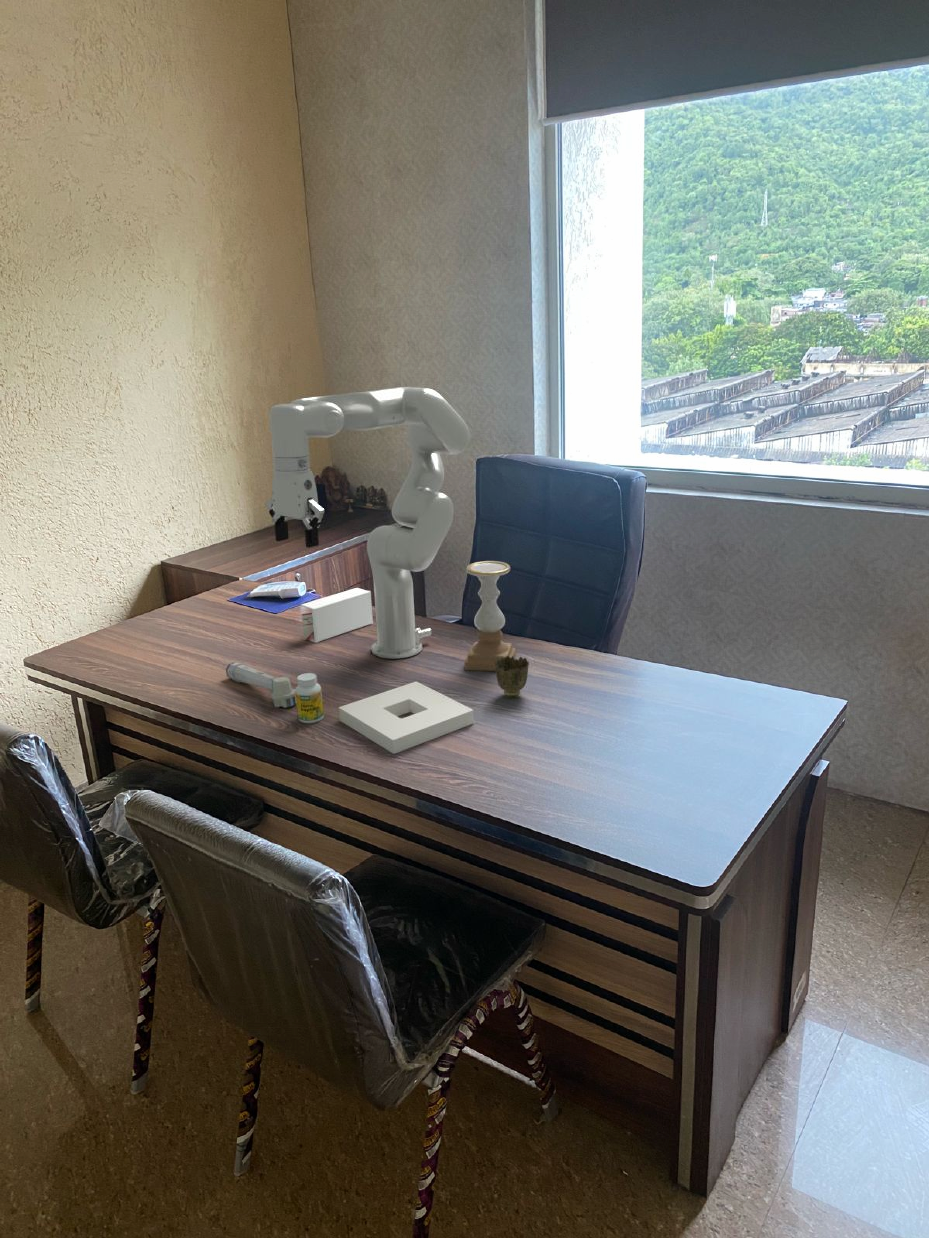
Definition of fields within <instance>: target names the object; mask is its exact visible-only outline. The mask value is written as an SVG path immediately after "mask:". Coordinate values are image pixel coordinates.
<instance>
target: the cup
mask: <svg viewBox="0 0 929 1238" xmlns="http://www.w3.org/2000/svg"><path fill="white" fill-rule="evenodd" d="M494 664H495V670H496V671H495V674H496V680H497V684H498V686H499V687H500V688H501V690H503V695H504V696H506V697H507V698H511V699H514V698H518V697H519V696H520V695H521V690H523V688H524V687H525V686H526V684H527V681H528V674H529V667H530V666H529V665H530V664H529V660H528V659H527V658H526V657H525V658H523V657H522V656H520V657H519V658H518V659H516V658H515V659H514V657H513V656H512V657H511V658H510V657H509V656H506V657H505V659H503V658H502V657H501V659H500V661H499V660H498V659H497V661H496V660H495V663H494Z"/></svg>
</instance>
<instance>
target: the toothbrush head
mask: <svg viewBox="0 0 929 1238" xmlns="http://www.w3.org/2000/svg"><path fill="white" fill-rule="evenodd" d="M225 673H226V677H227V678H229V679H230V680H233V681H235V682H236V683H238V684H240V683H244V684H247V685H250V686H254V687H258V688H262V689H264V690H268V691H272V692H270V694H269V695H270V698H271V699H272V700H273V701H272V702H273V704H274V707H275V708H281V707H283V708H290V707H293V706H295V705H297V702H296V694H295V689H296V688H293V687H292V683H291V680H290V678H289V677H286V676H282V677H277V676H273V675H270V674H268V673H266V672H263V671H260V670H258V669H255V668H252V667H250V666H248V665H247V664H245V663H244V662H241V663H239V662H233V663H229V664H228V666H227V667H226V669H225Z"/></svg>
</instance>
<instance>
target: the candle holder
mask: <svg viewBox="0 0 929 1238" xmlns="http://www.w3.org/2000/svg"><path fill="white" fill-rule="evenodd" d="M510 571H511V566H510V564H508V563H506V562H503V561H498V560H484V561H475V562H473V563H470V564H468V565H467V566H466V572H467V573H468V574H469V575H471V576H475V577H477V578H478V580H479V581H480V585H481V586H480V588H479V590H478V591H477V594H478V596H479V598H480V600H481V605H480V608H479V609H478V610H477V612H476V614H475V616H474V620H473V621H474V626H475V627H476V628H477V629H478V630H479V631H478V632H477V633H476V638H477V639H478V641H475V642H474V643H473V644H472V645H471V647H470V650H468V651H469V652H468V653H467V656H466V657H465V659H464V670H466V671H479V672H481V671H484V672H496V670H495V664H494V663H495V660H496V661H497V659H498V660H499V661H500V659H501V657H502V658H503V659H505V657H506V656H509V657H510V658H511V657H512V656H513V657H514V659H515V660H516V653H517V652H516V651H517V649H516V648H515V647H513V644H512V643H511V642H504V641H502V639H503V637H504V635H503V632H502V630H501V629H502V628H503V627H504V626H505V623H506V618H505V615H504V614H503V612H502V610H501V609H500V607H499V606H498V604H497V599H498V598H499V596H500V594H501V591H500V590H499V588H498V587H497V581H498V580H499V579H500V576H505V575H506V574H509V572H510Z"/></svg>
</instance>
